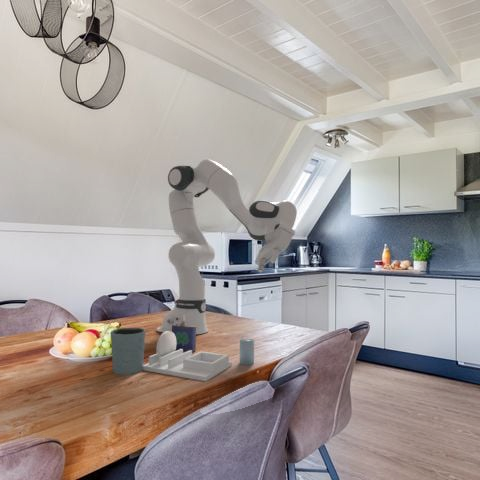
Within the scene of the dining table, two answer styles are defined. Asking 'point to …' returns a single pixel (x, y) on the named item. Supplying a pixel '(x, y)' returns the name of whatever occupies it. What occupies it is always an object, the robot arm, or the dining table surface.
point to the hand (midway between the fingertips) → (265, 266)
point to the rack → (185, 360)
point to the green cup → (127, 350)
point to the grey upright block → (246, 351)
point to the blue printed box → (185, 336)
